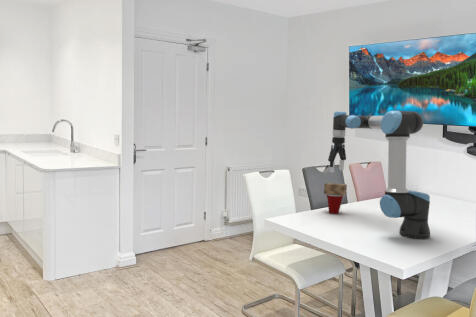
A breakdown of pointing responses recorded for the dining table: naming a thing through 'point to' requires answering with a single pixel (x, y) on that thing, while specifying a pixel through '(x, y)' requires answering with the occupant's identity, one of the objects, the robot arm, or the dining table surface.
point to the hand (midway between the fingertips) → (336, 171)
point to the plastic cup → (334, 203)
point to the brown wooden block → (335, 189)
